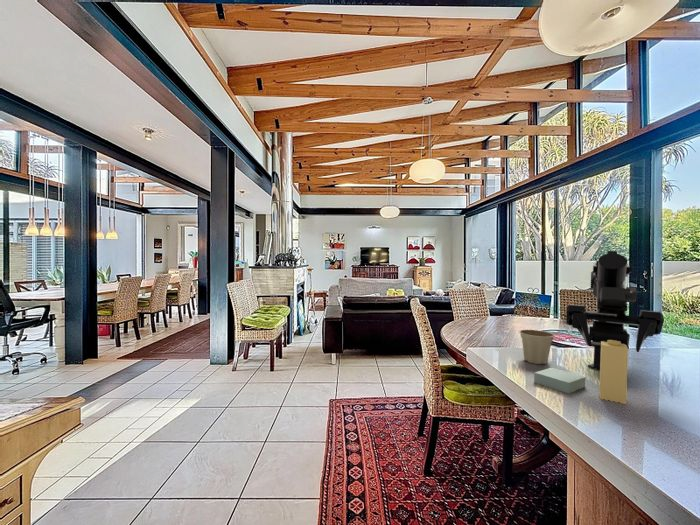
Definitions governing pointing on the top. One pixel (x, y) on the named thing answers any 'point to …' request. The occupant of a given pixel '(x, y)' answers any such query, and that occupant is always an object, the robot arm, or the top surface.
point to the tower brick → (613, 371)
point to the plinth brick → (559, 380)
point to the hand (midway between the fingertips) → (612, 347)
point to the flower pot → (536, 345)
